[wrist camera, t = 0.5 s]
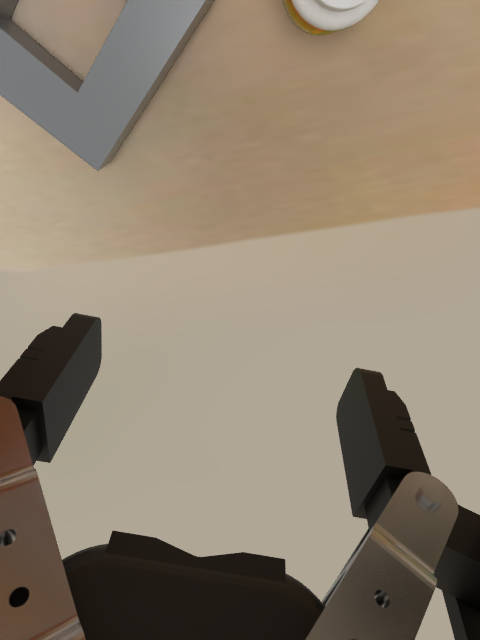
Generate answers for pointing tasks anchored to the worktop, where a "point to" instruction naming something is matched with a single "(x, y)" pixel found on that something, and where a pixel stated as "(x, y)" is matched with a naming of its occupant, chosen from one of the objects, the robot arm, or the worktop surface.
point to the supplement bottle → (327, 14)
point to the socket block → (97, 75)
